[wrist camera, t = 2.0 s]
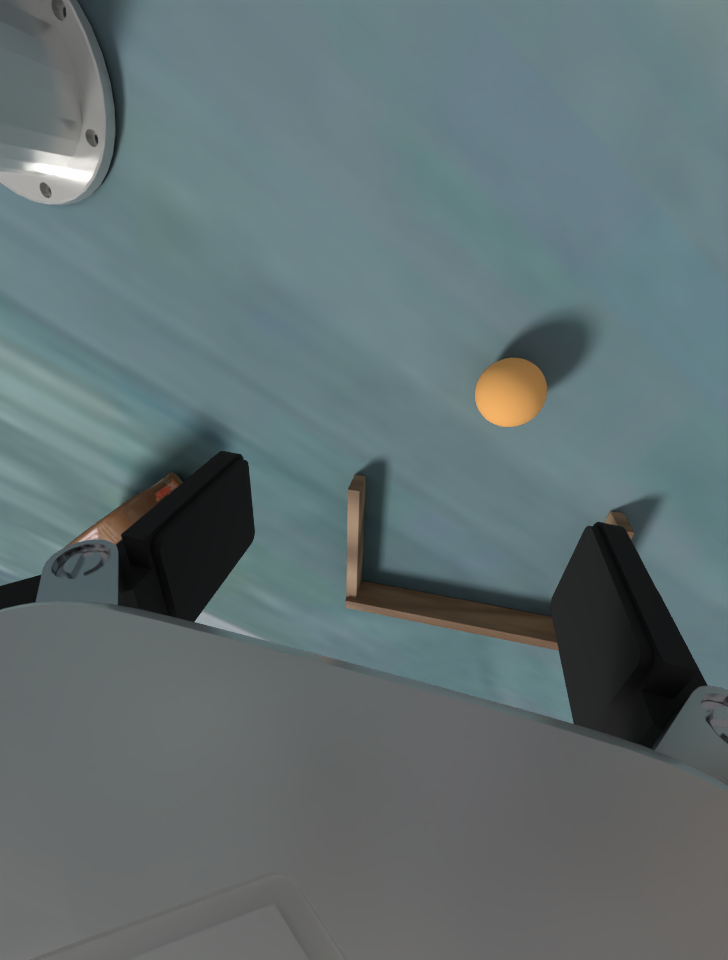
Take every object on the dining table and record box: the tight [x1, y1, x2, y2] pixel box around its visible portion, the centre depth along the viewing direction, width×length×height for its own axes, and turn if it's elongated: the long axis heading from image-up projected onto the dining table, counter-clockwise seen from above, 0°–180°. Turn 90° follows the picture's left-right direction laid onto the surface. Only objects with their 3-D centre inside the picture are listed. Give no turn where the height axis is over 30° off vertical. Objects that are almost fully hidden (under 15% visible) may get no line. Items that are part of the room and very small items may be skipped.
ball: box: [475, 358, 547, 427], centre depth 27 cm, size 4×4×4 cm
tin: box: [64, 473, 183, 548], centre depth 39 cm, size 15×3×8 cm, turn 126°
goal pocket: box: [345, 475, 635, 650], centre depth 36 cm, size 14×22×3 cm, turn 88°
